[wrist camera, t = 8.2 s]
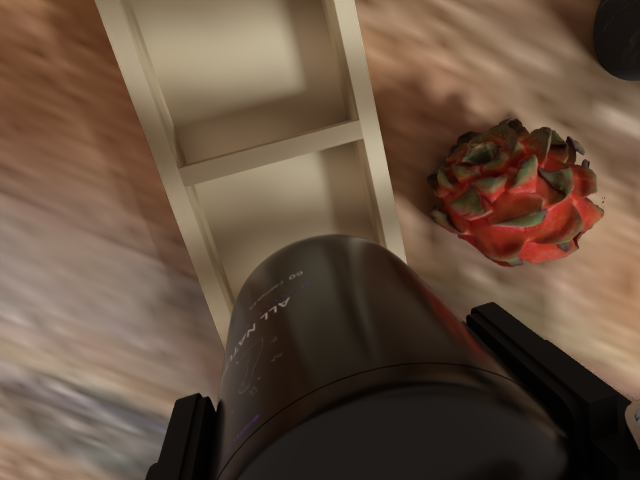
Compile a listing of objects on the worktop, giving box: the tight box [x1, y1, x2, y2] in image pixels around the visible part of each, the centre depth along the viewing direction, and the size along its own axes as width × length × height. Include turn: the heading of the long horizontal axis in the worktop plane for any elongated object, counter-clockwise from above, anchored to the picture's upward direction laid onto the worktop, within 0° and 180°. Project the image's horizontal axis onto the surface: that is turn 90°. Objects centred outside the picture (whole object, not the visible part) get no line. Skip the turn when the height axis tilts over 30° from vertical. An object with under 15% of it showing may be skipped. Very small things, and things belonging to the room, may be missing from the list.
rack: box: [95, 0, 407, 350], centre depth 26 cm, size 34×13×4 cm, turn 14°
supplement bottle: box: [206, 234, 596, 480], centre depth 9 cm, size 7×7×12 cm
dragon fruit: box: [427, 118, 605, 267], centre depth 26 cm, size 8×8×12 cm
